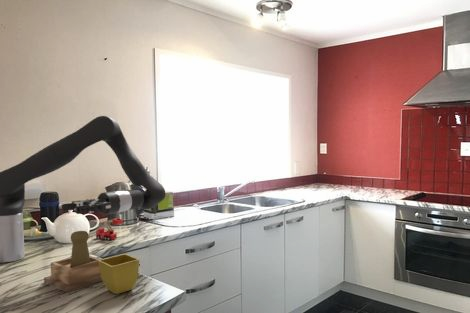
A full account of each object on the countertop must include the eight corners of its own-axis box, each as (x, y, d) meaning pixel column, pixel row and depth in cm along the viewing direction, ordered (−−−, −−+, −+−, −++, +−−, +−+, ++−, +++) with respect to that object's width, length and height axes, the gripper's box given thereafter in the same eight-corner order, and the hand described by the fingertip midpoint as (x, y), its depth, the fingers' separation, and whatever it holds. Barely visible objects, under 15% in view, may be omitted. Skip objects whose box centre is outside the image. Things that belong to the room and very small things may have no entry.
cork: (93, 263, 118) (92, 229, 118) (86, 269, 112) (85, 233, 112) (74, 263, 118) (73, 229, 118) (66, 269, 112) (65, 234, 112)
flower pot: (98, 290, 107) (97, 259, 107) (126, 282, 113) (125, 253, 113) (112, 299, 101) (111, 266, 100) (141, 289, 107) (140, 259, 107)
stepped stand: (44, 282, 114) (43, 263, 114) (86, 269, 125) (85, 252, 125) (67, 292, 106) (66, 272, 106) (110, 278, 117) (109, 259, 117)
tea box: (166, 214, 226) (165, 190, 226) (174, 216, 218) (173, 191, 218) (143, 217, 216) (142, 192, 216) (151, 220, 209) (150, 194, 208)
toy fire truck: (100, 236, 172) (99, 216, 172) (123, 239, 166) (122, 218, 166) (94, 238, 169) (94, 217, 168) (118, 241, 163) (117, 219, 163)
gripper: (102, 190, 131) (57, 195, 118) (127, 192, 122) (80, 198, 109) (103, 211, 131) (57, 218, 118) (127, 215, 122) (81, 223, 109)
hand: (69, 209), depth 113 cm, fingers open, 8 cm apart
